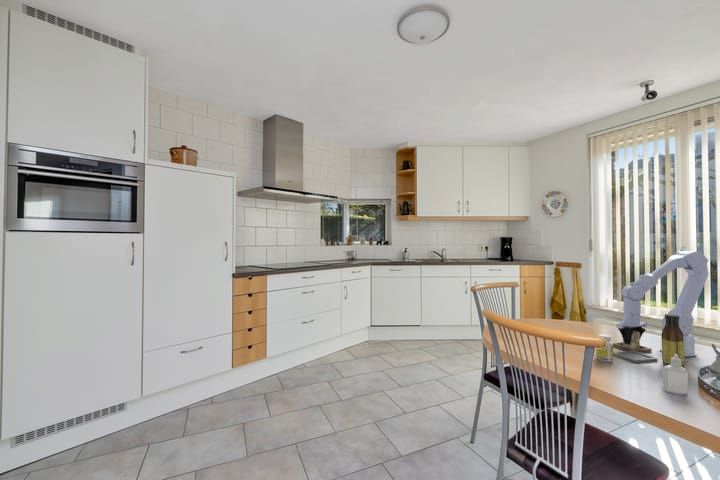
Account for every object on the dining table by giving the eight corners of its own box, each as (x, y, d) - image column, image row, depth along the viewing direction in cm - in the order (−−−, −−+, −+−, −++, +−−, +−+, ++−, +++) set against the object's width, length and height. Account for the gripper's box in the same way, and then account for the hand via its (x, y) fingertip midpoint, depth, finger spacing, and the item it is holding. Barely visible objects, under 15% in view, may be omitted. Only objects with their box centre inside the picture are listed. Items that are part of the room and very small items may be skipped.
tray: (633, 353, 137) (633, 350, 137) (657, 361, 129) (657, 358, 129) (612, 355, 135) (612, 352, 135) (635, 363, 126) (635, 360, 126)
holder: (628, 344, 148) (628, 341, 148) (651, 352, 139) (651, 348, 139) (611, 346, 146) (611, 342, 146) (633, 353, 137) (633, 350, 137)
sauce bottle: (679, 365, 125) (681, 314, 125) (688, 371, 119) (689, 317, 119) (658, 362, 128) (659, 312, 128) (664, 367, 122) (666, 315, 122)
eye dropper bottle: (687, 397, 99) (688, 358, 99) (662, 391, 103) (663, 353, 103) (687, 392, 102) (688, 355, 102) (663, 387, 106) (664, 350, 106)
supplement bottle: (607, 357, 132) (607, 333, 132) (616, 362, 127) (616, 337, 127) (592, 356, 133) (593, 333, 133) (601, 361, 127) (601, 337, 127)
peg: (630, 347, 145) (630, 329, 145) (639, 350, 141) (639, 332, 141) (622, 347, 144) (623, 330, 144) (632, 351, 140) (632, 332, 140)
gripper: (635, 310, 148) (634, 339, 148) (609, 311, 145) (609, 341, 145) (652, 314, 141) (651, 345, 141) (625, 315, 138) (625, 347, 138)
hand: (631, 343), depth 143 cm, fingers closed on peg, 4 cm apart
